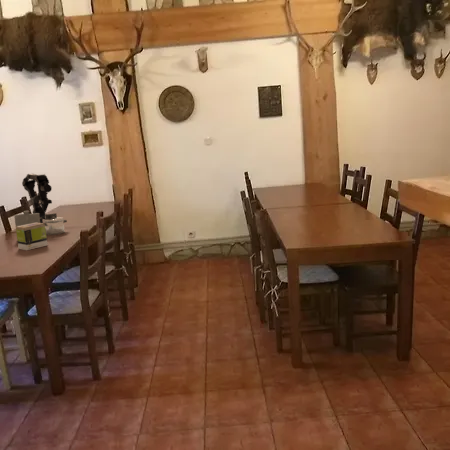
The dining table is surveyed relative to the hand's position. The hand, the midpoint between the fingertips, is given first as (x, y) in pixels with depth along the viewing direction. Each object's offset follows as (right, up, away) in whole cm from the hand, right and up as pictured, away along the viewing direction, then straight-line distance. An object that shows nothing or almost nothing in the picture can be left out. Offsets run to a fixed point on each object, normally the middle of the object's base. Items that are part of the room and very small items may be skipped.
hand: (44, 212), depth 389 cm
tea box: (+12, -24, -55) cm, 61 cm away
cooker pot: (+12, -15, -12) cm, 22 cm away
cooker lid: (+11, -6, -13) cm, 18 cm away
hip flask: (0, -20, -31) cm, 37 cm away
